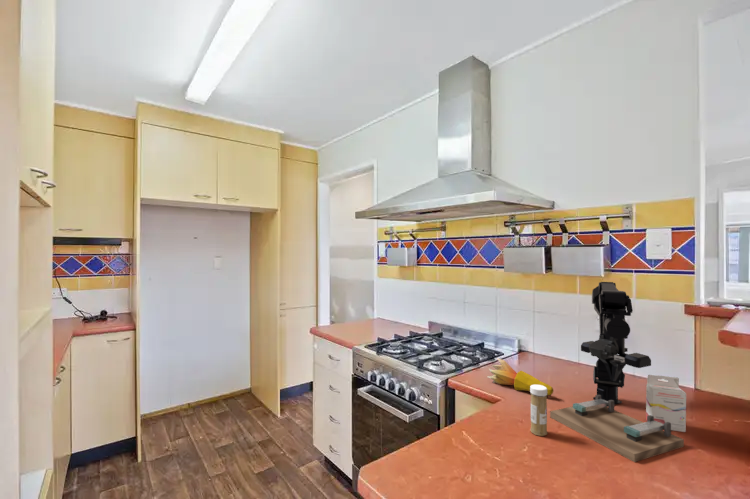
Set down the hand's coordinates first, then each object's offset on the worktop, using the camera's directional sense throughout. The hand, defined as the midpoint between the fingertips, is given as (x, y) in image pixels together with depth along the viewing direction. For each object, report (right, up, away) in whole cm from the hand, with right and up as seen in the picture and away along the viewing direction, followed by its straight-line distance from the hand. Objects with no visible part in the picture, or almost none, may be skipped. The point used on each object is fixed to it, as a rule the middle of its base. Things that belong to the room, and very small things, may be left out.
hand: (613, 380), depth 113 cm
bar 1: (-5, -9, +2) cm, 11 cm away
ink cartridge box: (+14, -13, -3) cm, 19 cm away
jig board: (-5, -13, -6) cm, 15 cm away
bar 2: (0, -9, -13) cm, 16 cm away
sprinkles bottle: (-27, -13, -7) cm, 31 cm away
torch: (-20, -13, +25) cm, 34 cm away
